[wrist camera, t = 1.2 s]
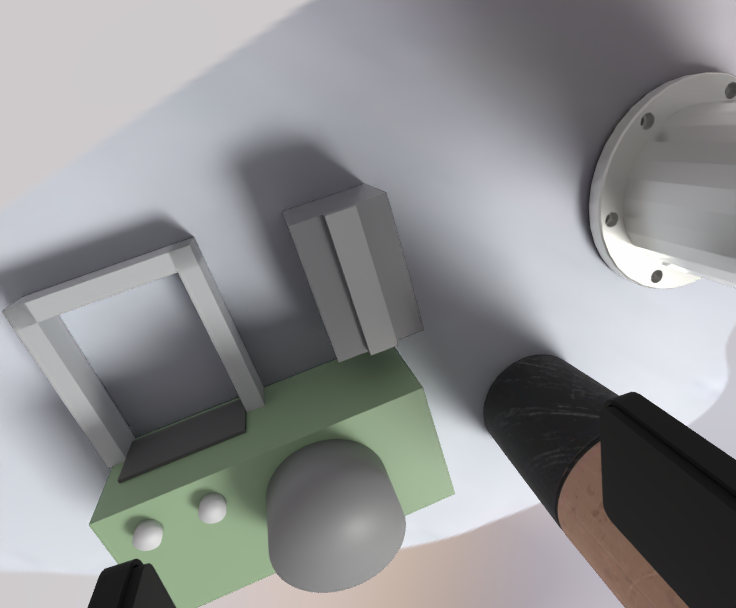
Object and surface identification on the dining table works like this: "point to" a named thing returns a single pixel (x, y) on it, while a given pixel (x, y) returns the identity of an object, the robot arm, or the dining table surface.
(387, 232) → the ridged grey block
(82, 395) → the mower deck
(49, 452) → the dining table surface
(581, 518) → the travel mug
